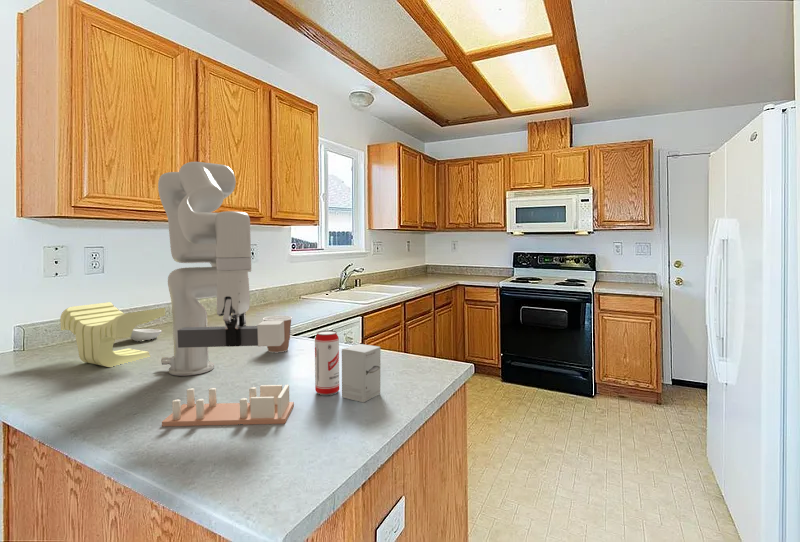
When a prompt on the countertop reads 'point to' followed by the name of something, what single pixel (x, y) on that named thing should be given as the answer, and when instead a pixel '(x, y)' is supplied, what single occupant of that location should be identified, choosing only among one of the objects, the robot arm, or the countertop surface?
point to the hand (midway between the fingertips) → (236, 343)
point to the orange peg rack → (233, 409)
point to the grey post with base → (216, 336)
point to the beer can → (327, 362)
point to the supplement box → (360, 372)
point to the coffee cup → (286, 333)
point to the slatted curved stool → (105, 331)
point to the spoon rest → (144, 334)
